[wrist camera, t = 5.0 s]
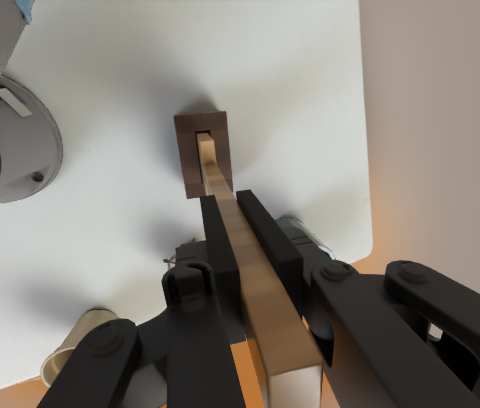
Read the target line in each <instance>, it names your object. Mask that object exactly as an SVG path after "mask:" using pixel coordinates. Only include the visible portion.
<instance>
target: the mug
mask: <svg viewBox="0 0 480 408" xmlns="http://www.w3.org/2000/svg"><path fill="white" fill-rule="evenodd" d="M275 222H276V223H277V224H278V225H279V227H284V226H290V225H293V226H295V227H298V228H300V229H302V230H303V231H304V232H305V233H306V234H307V235H308V237H310V238H311V239H312V240H313V242H314V243H315V244H316V245H317V246H318V247H319V248H320V249H321V250H322V251H323V252H324V253H325V254H326V255H327V256H328V257H329V258H330V259H333V260H336V259H335V257H334V255H333V254H332V252H331V251H330V250H329V249H328V248H327V247H326V246H325V245H324V244H323V243H322V242H321V241H320V240H319V239H318V238H317V237H316V236H315V235H314V234H313V233H312V232H311V231H310V230H309V229H308V228H307V227H306V226H305V225H304V224H303V223H301V222H300V221H299V220H297V219H294V218H281V219H278V220H276V221H275Z"/></svg>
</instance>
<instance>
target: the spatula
mask: <svg viewBox="0 0 480 408" xmlns="http://www.w3.org/2000/svg"><path fill="white" fill-rule="evenodd" d="M197 141H198V148H199V156H200V163H201V170H202V178H203V184H204V188H205V192H206V196H207V195H215V198H216V201H217V204H218V207H219V210H220V213H221V216H222V219H223V222H224V225H225V228H226V231H227V234H228V237H229V240H230V243H231V246H232V249H233V252H234V255H235V258H236V261H237V264H238V267H239V271H240V282H241V287H240V296H241V306H242V317H243V327H244V330H245V334H246V338H247V341H248V345H249V349H250V353H251V357H252V361H253V364H254V368H255V372H256V376H257V379H258V383H259V387H260V391H261V394H262V398H263V402H264V406H265V408H321V407H320V406H321V394H322V380H323V366H324V361H323V358H322V356H321V354H320V352H319V351H318V349H317V347H316V345H315V343H314V341H313V340H312V338H311V336H310V334H309V332H308V330H307V329H306V327H305V325H304V323H303V321H302V319H301V318H300V316H299V314H298V312H297V310H296V309H295V307H294V305H293V303H292V301H291V299H290V298H289V296H288V294H287V292H286V290H285V288H284V287H283V285H282V283H281V281H280V279H279V278H278V276H277V274H276V272H275V271H274V269H273V267H272V265H271V263H270V261H269V260H268V258H267V256H266V254H265V252H264V250H263V249H262V247H261V245H260V243H259V241H258V239H257V238H256V236H255V234H254V232H253V230H252V228H251V227H250V225H249V223H248V221H247V219H246V217H245V216H244V214H243V212H242V210H241V208H240V206H239V205H238V203H237V201H236V199H235V197H234V195H233V194H232V192H231V190H230V188H229V186H228V184H227V183H226V181H225V179H224V177H223V175H222V173H221V172H220V170H219V168H218V166H217V164H216V156H215V147H214V140H213V139H212V138H211V137H210V136H209V135H208V133H202V134H197Z"/></svg>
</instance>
